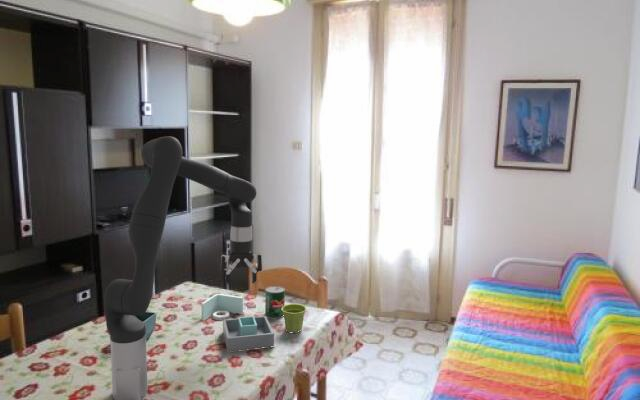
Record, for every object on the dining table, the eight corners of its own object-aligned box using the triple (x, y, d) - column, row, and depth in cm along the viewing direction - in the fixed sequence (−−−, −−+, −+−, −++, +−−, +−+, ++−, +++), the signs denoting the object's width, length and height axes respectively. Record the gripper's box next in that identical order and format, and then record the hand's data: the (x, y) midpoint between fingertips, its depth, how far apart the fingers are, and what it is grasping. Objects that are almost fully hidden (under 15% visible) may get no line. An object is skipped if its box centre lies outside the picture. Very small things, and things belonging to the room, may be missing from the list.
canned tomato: (277, 320, 184) (277, 293, 182) (261, 315, 188) (261, 290, 186) (288, 313, 190) (288, 288, 189) (272, 309, 194) (273, 284, 193)
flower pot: (144, 346, 158) (143, 322, 157) (121, 343, 160) (120, 319, 159) (157, 335, 167) (157, 312, 166) (136, 333, 169) (135, 309, 167)
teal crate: (256, 341, 163) (256, 325, 162) (240, 342, 161) (240, 326, 160) (253, 331, 170) (253, 316, 169) (238, 333, 169) (238, 317, 168)
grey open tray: (273, 347, 161) (274, 333, 160) (227, 352, 156) (227, 338, 155) (265, 328, 176) (265, 315, 175) (223, 332, 171) (223, 319, 170)
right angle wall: (201, 321, 182) (201, 303, 181) (217, 310, 193) (216, 293, 192) (228, 326, 178) (228, 307, 177) (242, 314, 190) (242, 297, 189)
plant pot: (276, 331, 173) (276, 309, 172) (289, 323, 181) (289, 302, 180) (297, 337, 169) (298, 315, 167) (310, 328, 177) (310, 306, 176)
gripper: (221, 241, 154) (221, 288, 157) (263, 240, 158) (262, 285, 161) (219, 236, 162) (219, 281, 164) (260, 235, 166) (259, 279, 168)
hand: (241, 283), depth 162 cm, fingers open, 8 cm apart
